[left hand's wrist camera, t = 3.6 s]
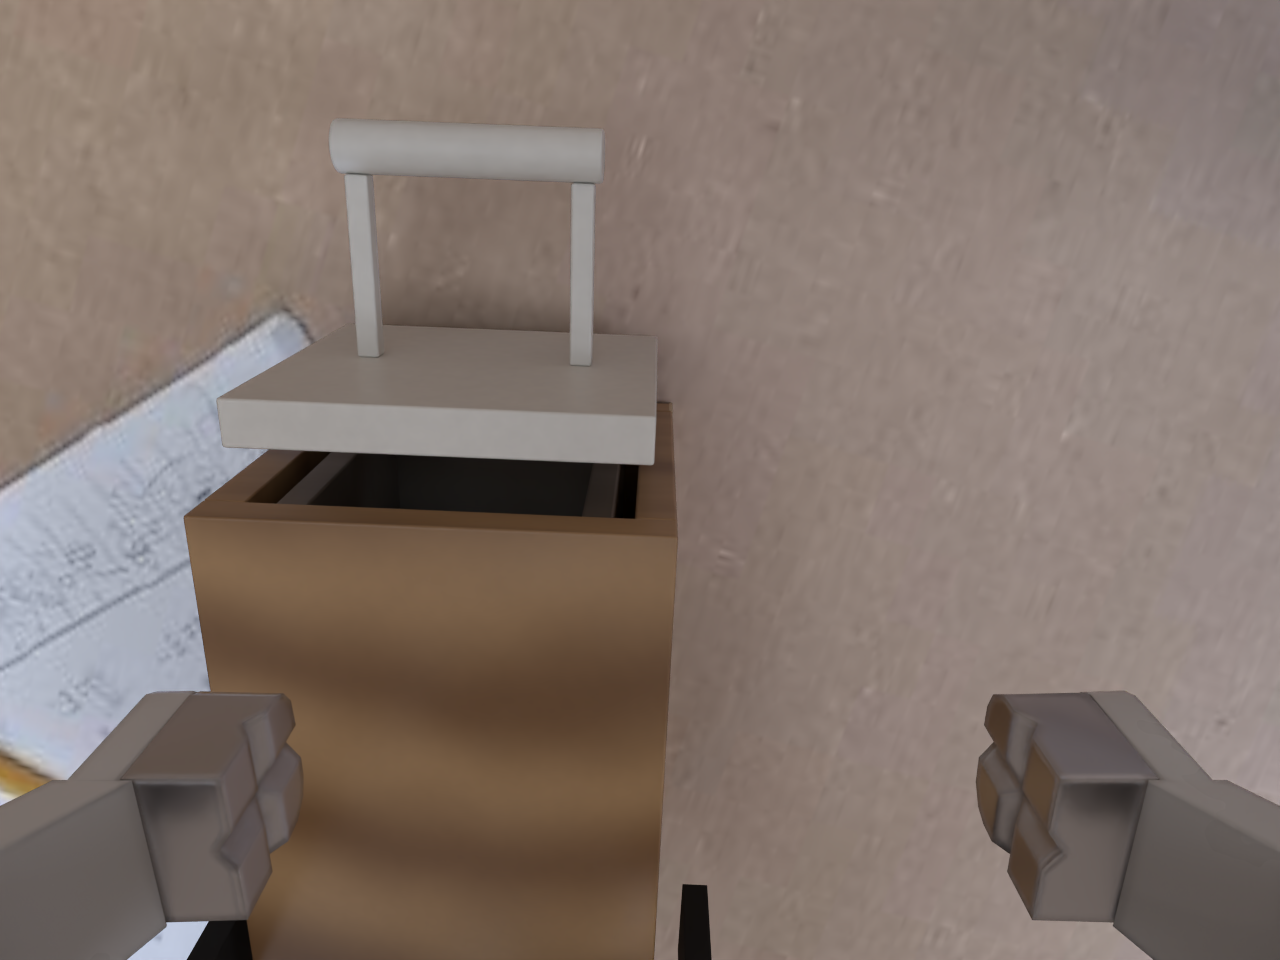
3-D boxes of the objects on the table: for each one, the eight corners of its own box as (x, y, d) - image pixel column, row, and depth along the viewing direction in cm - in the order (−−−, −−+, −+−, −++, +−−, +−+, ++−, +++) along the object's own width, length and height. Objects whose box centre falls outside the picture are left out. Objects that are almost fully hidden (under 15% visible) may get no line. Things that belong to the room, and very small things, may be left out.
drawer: (331, 120, 26) (175, 107, 18) (666, 133, 26) (669, 127, 18) (381, 747, 34) (289, 945, 26) (638, 759, 34) (631, 961, 26)
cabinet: (344, 389, 30) (181, 515, 20) (672, 403, 30) (678, 536, 20) (379, 807, 37) (268, 1069, 26) (650, 820, 37) (647, 1087, 26)
